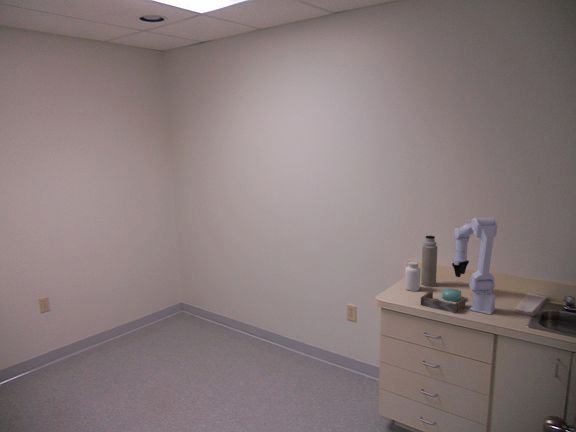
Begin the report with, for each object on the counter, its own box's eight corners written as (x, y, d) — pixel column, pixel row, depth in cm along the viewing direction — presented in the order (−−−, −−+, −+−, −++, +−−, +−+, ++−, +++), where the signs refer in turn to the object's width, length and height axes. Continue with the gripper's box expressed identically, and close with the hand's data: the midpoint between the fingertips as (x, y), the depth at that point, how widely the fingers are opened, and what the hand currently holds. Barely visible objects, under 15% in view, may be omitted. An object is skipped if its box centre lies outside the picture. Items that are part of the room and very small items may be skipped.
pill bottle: (420, 291, 227) (421, 264, 225) (405, 291, 229) (405, 264, 227) (419, 287, 235) (419, 261, 233) (404, 286, 237) (404, 260, 234)
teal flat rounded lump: (463, 298, 217) (463, 290, 217) (457, 302, 210) (458, 295, 210) (445, 294, 223) (445, 287, 222) (439, 299, 216) (439, 291, 215)
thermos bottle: (427, 281, 245) (428, 234, 240) (438, 284, 238) (440, 236, 234) (418, 284, 240) (419, 235, 236) (429, 287, 234) (431, 238, 229)
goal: (465, 305, 206) (465, 297, 206) (456, 313, 197) (457, 305, 196) (430, 298, 217) (430, 290, 217) (420, 305, 208) (420, 297, 207)
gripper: (458, 246, 230) (457, 270, 232) (448, 251, 219) (447, 277, 221) (471, 248, 226) (470, 273, 228) (462, 253, 215) (461, 279, 217)
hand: (460, 275), depth 224 cm, fingers open, 6 cm apart
